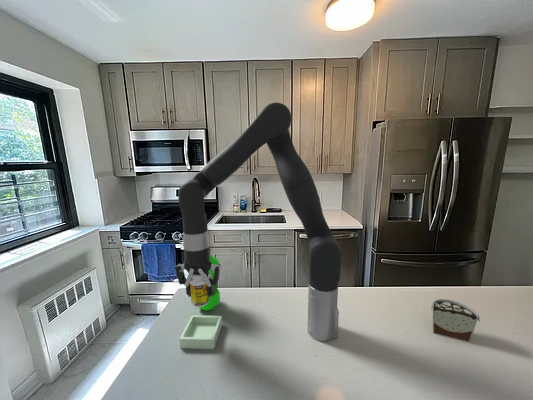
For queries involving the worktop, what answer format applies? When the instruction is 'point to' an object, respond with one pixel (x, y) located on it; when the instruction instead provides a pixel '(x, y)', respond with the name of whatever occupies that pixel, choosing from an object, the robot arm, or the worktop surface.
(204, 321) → the tray
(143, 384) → the worktop surface
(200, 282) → the supplement bottle
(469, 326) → the mint chocolate cake slice
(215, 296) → the plastic bottle
